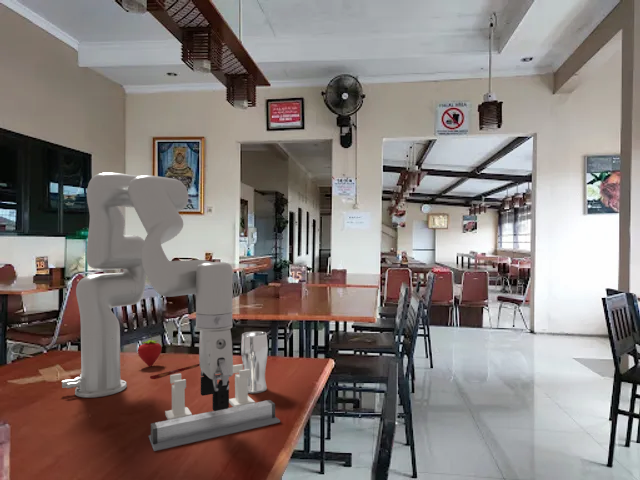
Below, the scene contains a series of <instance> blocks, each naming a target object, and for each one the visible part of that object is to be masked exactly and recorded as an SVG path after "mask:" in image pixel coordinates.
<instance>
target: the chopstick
mask: <svg viewBox="0 0 640 480" xmlns="http://www.w3.org/2000/svg"><path fill="white" fill-rule="evenodd" d="M196 367H200V363H197V364H194V365H189V366H186V367H185V366H184V367H181V368H177V369H175V370H173V369H172V370H171V371H165V372H161V373H158V374H154V375H150V379H152V380H155V379H159V378H162V377H165V376H170V375H173V374H177V373H180V372H182V371H186V370H189V369H193V368H196Z"/></svg>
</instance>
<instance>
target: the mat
mask: <svg viewBox="0 0 640 480" xmlns="http://www.w3.org/2000/svg"><path fill="white" fill-rule="evenodd" d="M278 423H281V420H280V419H279V418H278V417H276V416H275V418H270V419H266V420H261V421H257V422H252V423H248V424H243V425H239V426H234V427H230V428H225V429H221V430H216V431H212V432H207V433H203V434H198V435H194V436H189V437H185V438H180V439H176V440H171V441H167V442H162V443H158V444H153V443H152V440H151V434H149V435H148V438H149V442H150V444H151V445H150V446H151V447H152V450H153V452H156V451H161V450H166V449H170V448H174V447H178V446H182V445H187V444H192V443H195V442H200V441H204V440H210V439H213V438H217V437H222V436H227V435H231V434H235V433H240V432H243V431H248V430H253V429H256V428H262V427H267V426H269V425H274V424H278Z"/></svg>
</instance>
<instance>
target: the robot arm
mask: <svg viewBox="0 0 640 480" xmlns="http://www.w3.org/2000/svg"><path fill="white" fill-rule="evenodd" d="M87 184H88V186H87V189H86V202H87V206H88V212H89V225H88V233H87V245H86V262H87V265H88V266H89V267H90V268H91V269H94V270H98V271H108V270H109V271H110V270H111V271H113V270H123V271H122V272H115V273H113V272H107V273H96V274H90V275H86V276H84V277H83V278H81V279H80V280H79V281H78V283H77V284H76V288H75V295H76V300H77V305H78V310H79V316H80V318H79V319H80V356H81V357H80V359H81V360H80V363H81V364H80V367H81V369H80V370H81V373H80V374H79V376H76V377H75V378H74V379H73V378H72V379H63V380H61V388H62V389H65V388H67V390H68V389H73V388H75V390H74V395H75V396H77V397H79V398H102V397H107V396H111V395H115V394H118V393H119V392H123V391H124V390H125V389H126V388H127V386H128V384H127V381H125V380H123V379H121V331H120V330H121V326H120V321H119V319H118V317H117V316H116V315H115V313H114V312H113V311H112V310H111V309H113V308H119V307H127V306H132V305H136V304H138V303H139V302H141V301H142V299H143V297H144V294H145V290H146V282H147V279H148V281H149V283H150V285H151V286H152V288H153V290H154V291H156V293H158V294H159V295H160V296H163V297H166V298H167V297H168V298H170V297H179V296H180V297H181V296H186V295H187V296H189V295H195V329H196V330H198V331H199V344H198V345H199V346H198V349H199V352H198V356H199V357H198V358H199V361H198V362H199V363H198V364H200V366H199V369H200V395H201V396H210V395H212V411H218V410H224V409H228V408H230V403H229V399H230V380H229V379H230V377H232V376H234V373H233V365H234V362H233V361H234V359H233V341H232V332H231V329H232V328H233V303H234V302H233V300H234V299H233V291H234V290H233V288H234V287H233V281H234V280H233V276H234V275H233V272H234V271H233V267H232V265H231V264H230V263H228V262H223V261H215V262H213V261H210V260H205V259H194V260H193V259H192V260H191V259H190V260H187V259H186V260H169V258H168V257H167V255H166V254H165V252H164V250H163V247H162V245H163V244H165V243H166V242H169V241H171V240H172V239H174V238H175V237H177V236H178V235H179V234H180V233H181V231H182V230H183V227H184V220H183V217H182V215H180V213H179V212H181V211H183V210H184V209H185V208H186V207H187V205H188V202H189V192H188V190H187V187H186V185H185V184H184V183H183V182H182V181H181V180H179V179H176V178H171V177H164V176H159V175H157V176H156V175H144V174H143V175H134V174H126V173H119V172H102V173H98V174H95V175H94V176H92V178H90V180H89V182H88V183H87ZM120 207H123V208H134V210H135V212H136V214H137V217H138V218H139V220H140V222H141V224H142V226H143V228H144V230H145V232H146V233H147V235H146V236H145V238H142V237H141V236H139V235H135V234H134V235H132V234H124V233H125V232H124V231H125V225H126V223H125V217H124V215H123V212H122V211H121V209H120Z"/></svg>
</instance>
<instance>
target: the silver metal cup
mask: <svg viewBox="0 0 640 480" xmlns="http://www.w3.org/2000/svg"><path fill="white" fill-rule="evenodd" d="M240 346H241V350H240V351H241V360H242V365H243V370H245V369H250V377H248V394H261V393H264V392H265V391H267V388H268V387H267V383H266V367H267V363H268V362H267V361H268V349H269V348H268V336H267V332H266V331H258V330H257V331H246V332H244V333H242V334H241V345H240Z"/></svg>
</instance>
